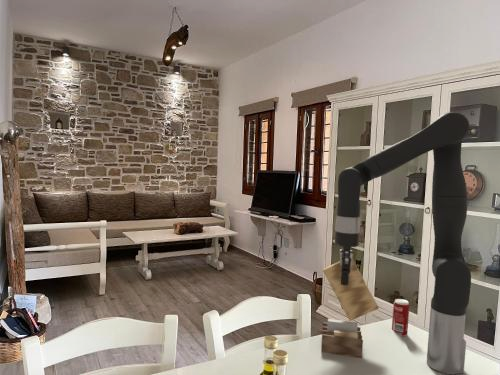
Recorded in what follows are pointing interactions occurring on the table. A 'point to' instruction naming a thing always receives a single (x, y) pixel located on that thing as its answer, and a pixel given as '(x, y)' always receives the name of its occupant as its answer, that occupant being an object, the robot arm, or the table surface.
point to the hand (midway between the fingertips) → (344, 283)
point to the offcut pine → (345, 334)
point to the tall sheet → (351, 291)
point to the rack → (341, 343)
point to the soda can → (400, 316)
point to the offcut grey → (341, 325)
